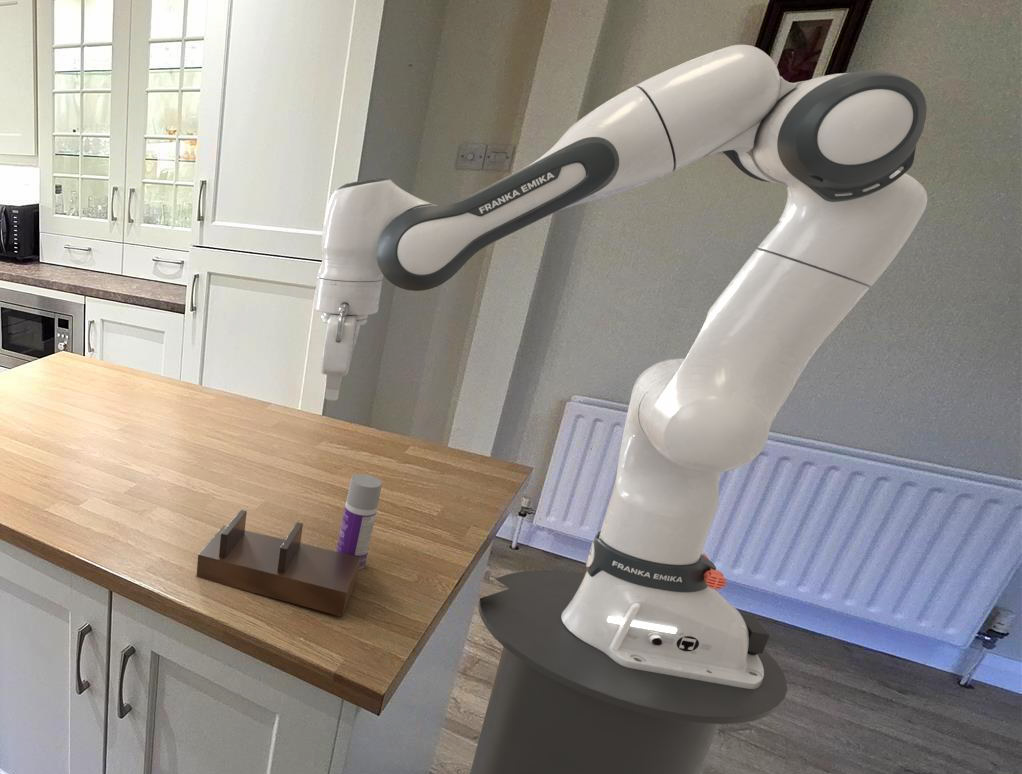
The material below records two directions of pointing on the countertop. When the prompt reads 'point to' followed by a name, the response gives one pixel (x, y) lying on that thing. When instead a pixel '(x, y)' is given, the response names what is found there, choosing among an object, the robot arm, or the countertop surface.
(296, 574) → the brown two-slot stand
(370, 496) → the container
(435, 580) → the countertop surface
